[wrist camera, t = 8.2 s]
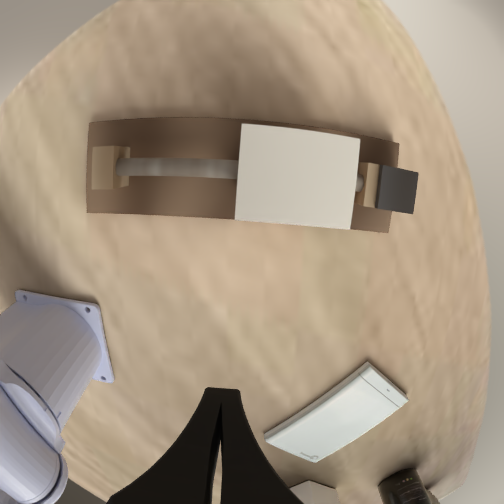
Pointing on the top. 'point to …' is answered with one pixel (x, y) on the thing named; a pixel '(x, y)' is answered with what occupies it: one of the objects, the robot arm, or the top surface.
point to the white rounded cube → (296, 177)
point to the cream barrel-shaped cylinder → (432, 498)
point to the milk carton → (315, 493)
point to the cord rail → (217, 170)
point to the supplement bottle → (404, 489)
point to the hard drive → (339, 415)
